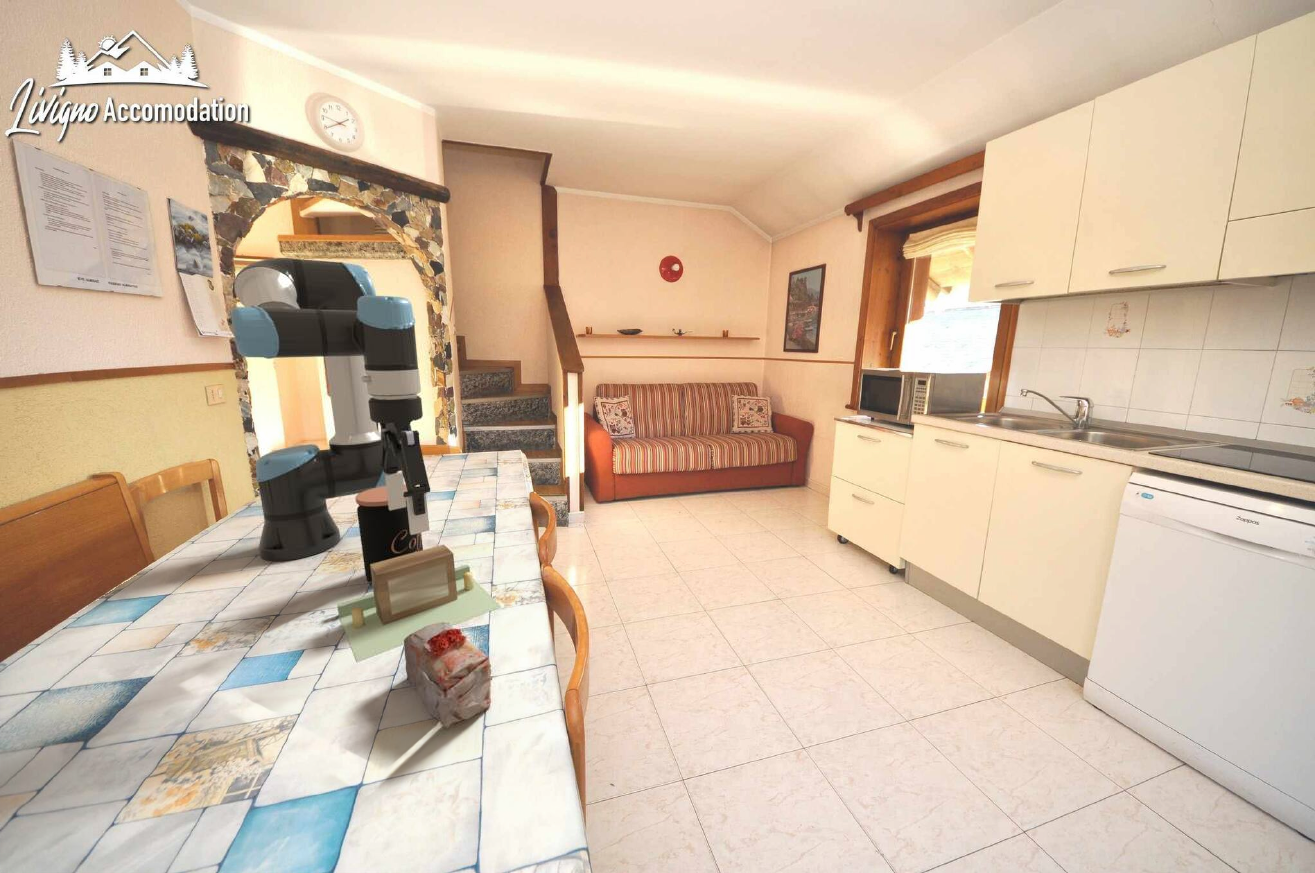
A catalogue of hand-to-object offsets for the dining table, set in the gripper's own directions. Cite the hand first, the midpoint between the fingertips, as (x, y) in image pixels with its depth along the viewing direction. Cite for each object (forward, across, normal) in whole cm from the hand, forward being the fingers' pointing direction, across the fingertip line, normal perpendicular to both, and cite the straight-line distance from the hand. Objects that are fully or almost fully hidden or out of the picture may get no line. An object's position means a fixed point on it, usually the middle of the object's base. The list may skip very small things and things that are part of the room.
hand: (408, 519), depth 80 cm
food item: (+18, +25, -3) cm, 31 cm away
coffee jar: (+18, -17, 0) cm, 25 cm away
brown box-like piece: (+16, 0, 0) cm, 16 cm away
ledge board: (+18, +3, 0) cm, 18 cm away
